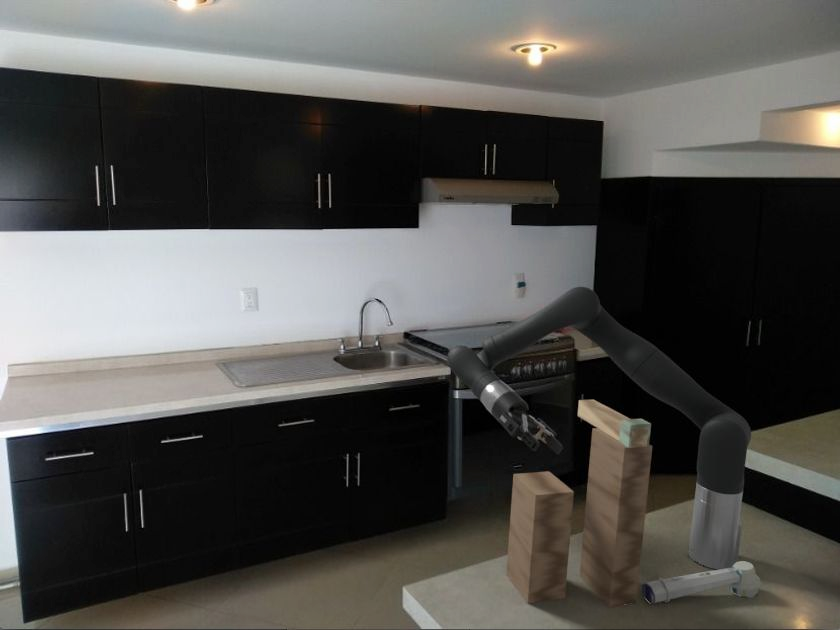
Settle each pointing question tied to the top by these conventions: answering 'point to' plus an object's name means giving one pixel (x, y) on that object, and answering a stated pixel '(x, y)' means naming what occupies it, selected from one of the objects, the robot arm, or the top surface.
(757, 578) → the white tube with head
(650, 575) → the top surface
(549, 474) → the low walnut block
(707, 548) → the robot arm
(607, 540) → the walnut post
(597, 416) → the oak rail
